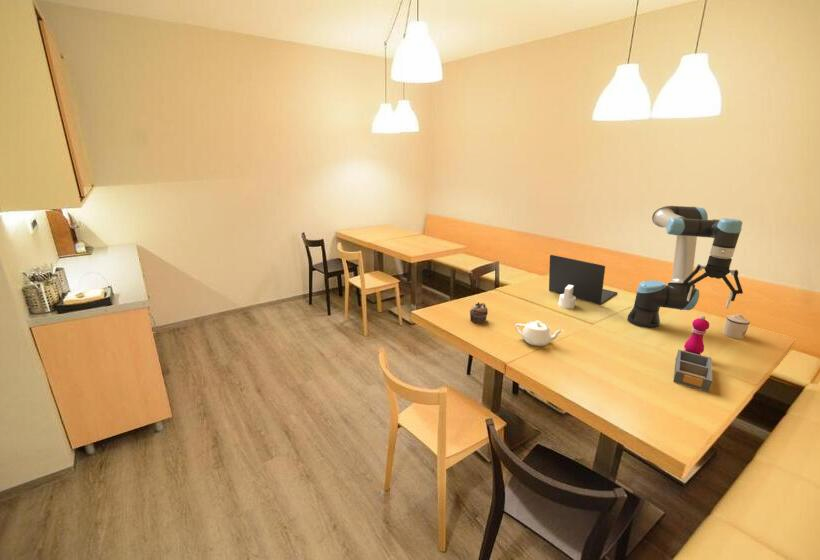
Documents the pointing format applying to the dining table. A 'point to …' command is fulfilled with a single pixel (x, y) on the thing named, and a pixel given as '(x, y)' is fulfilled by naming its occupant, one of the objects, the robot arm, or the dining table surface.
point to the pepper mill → (697, 336)
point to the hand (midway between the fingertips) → (706, 303)
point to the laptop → (578, 279)
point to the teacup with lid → (736, 326)
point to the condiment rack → (693, 370)
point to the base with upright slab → (567, 298)
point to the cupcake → (478, 313)
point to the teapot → (537, 333)
